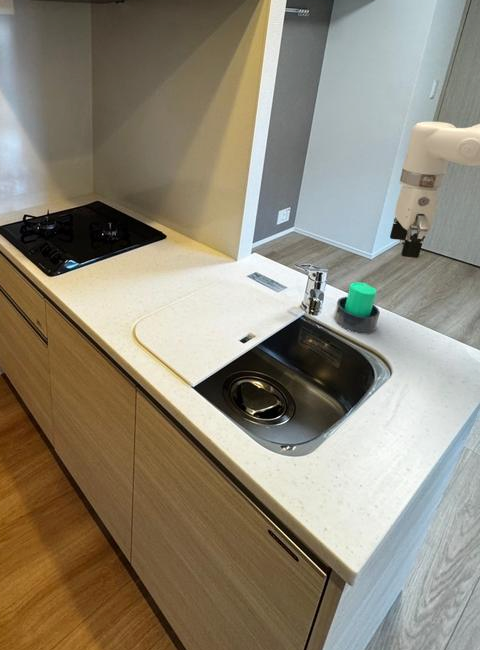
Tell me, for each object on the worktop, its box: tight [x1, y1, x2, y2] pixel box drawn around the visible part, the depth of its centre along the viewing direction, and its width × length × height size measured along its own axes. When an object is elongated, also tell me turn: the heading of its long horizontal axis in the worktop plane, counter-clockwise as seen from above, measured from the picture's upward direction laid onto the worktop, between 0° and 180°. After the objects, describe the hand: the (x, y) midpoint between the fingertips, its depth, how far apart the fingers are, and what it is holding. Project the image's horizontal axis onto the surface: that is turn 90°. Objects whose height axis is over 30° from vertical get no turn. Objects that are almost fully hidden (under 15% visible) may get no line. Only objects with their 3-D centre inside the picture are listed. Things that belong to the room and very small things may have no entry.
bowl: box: [333, 296, 380, 335], centre depth 113 cm, size 10×10×5 cm
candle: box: [344, 281, 377, 317], centre depth 111 cm, size 6×6×12 cm
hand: (403, 247), depth 98 cm, fingers open, 9 cm apart
